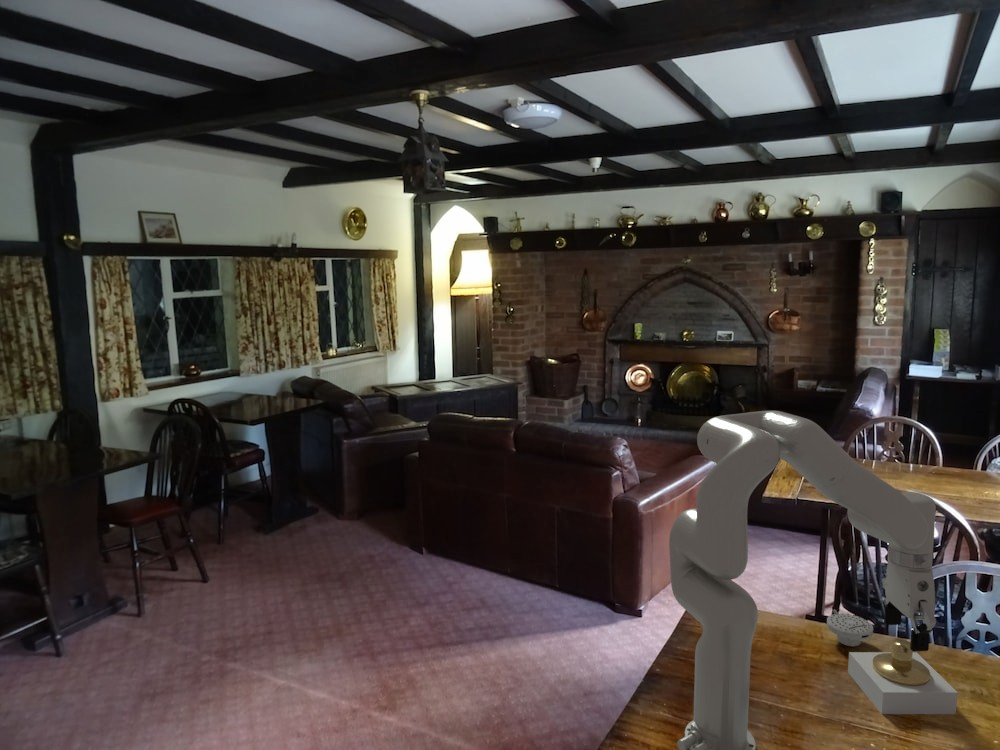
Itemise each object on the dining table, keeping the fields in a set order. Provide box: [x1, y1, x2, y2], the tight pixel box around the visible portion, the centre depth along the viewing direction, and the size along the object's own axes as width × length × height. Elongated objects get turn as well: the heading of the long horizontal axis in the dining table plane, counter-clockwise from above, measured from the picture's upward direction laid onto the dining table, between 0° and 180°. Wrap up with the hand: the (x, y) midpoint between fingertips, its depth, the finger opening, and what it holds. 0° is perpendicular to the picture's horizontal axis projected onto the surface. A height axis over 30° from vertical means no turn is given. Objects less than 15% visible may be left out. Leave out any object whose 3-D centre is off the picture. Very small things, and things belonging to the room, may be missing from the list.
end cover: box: [873, 638, 930, 686], centre depth 139 cm, size 10×10×10 cm
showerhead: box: [826, 609, 874, 647], centre depth 158 cm, size 9×7×10 cm
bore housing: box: [847, 651, 959, 715], centre depth 140 cm, size 14×14×6 cm
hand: (905, 636), depth 138 cm, fingers open, 9 cm apart
